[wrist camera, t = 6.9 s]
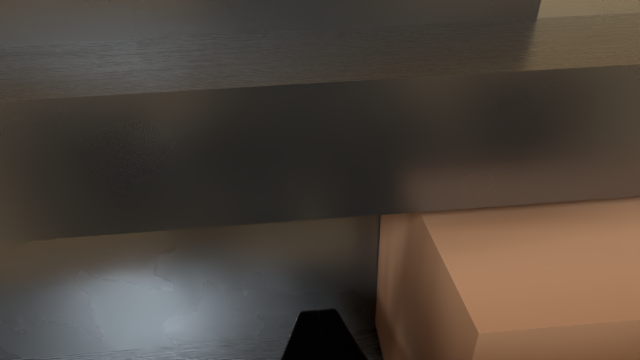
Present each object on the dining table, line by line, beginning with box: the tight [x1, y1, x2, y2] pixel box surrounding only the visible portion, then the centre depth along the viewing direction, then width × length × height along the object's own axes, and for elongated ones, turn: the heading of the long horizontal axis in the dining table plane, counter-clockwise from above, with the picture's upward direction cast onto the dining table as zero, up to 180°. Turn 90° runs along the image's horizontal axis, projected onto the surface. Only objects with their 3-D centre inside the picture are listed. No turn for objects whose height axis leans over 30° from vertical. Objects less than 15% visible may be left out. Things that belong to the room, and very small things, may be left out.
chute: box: [0, 0, 640, 360], centre depth 9 cm, size 14×26×4 cm, turn 92°
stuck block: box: [375, 196, 640, 360], centre depth 8 cm, size 6×6×5 cm
